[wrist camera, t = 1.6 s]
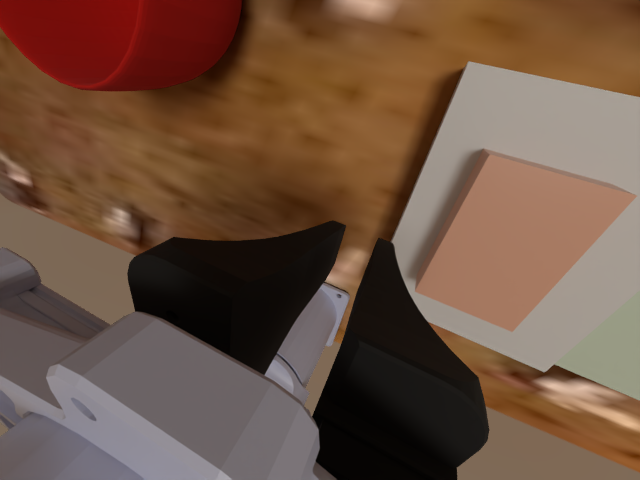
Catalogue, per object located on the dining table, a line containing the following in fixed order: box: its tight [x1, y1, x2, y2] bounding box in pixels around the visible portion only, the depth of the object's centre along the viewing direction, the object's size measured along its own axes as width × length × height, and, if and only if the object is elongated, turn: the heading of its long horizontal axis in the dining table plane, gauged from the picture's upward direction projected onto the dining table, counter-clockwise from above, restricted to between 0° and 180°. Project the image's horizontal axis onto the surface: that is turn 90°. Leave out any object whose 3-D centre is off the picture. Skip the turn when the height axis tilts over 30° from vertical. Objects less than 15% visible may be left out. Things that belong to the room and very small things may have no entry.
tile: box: [415, 149, 637, 332], centre depth 15 cm, size 6×9×2 cm, turn 167°
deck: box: [391, 62, 640, 372], centre depth 17 cm, size 13×16×3 cm
